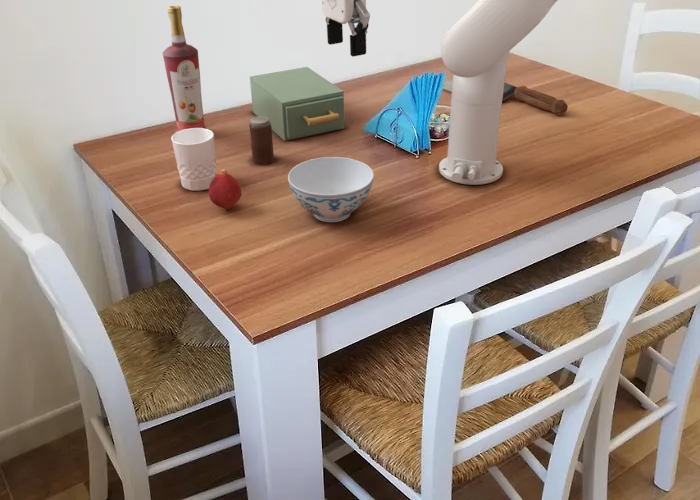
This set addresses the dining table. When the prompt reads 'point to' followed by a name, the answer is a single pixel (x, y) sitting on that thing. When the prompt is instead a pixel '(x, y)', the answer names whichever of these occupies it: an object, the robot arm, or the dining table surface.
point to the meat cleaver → (527, 97)
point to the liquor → (183, 76)
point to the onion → (224, 190)
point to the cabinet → (288, 95)
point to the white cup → (195, 157)
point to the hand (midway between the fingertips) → (346, 49)
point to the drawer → (314, 116)
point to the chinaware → (331, 186)
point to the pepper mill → (261, 140)
